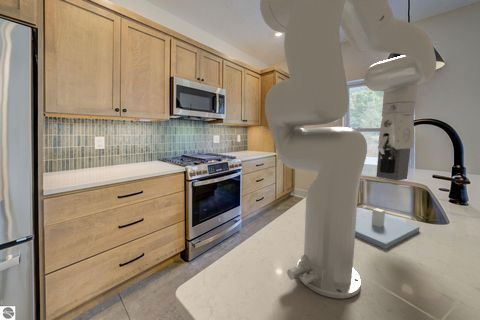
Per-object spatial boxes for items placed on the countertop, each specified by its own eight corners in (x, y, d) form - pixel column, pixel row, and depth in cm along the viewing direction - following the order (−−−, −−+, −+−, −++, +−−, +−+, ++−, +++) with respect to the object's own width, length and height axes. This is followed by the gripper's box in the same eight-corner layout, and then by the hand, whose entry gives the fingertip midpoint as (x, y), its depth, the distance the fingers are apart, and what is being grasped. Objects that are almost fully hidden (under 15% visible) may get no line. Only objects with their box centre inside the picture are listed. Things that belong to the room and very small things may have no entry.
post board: (385, 249, 52) (387, 225, 52) (337, 227, 65) (338, 208, 64) (419, 231, 62) (421, 211, 61) (371, 215, 74) (372, 198, 73)
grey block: (397, 180, 56) (400, 148, 55) (376, 177, 61) (378, 147, 60) (407, 178, 59) (410, 148, 58) (386, 175, 64) (388, 147, 63)
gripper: (397, 106, 51) (390, 176, 53) (427, 111, 59) (421, 171, 61) (367, 110, 57) (362, 172, 59) (398, 114, 65) (393, 168, 67)
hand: (392, 171), depth 60 cm, fingers closed on grey block, 5 cm apart
